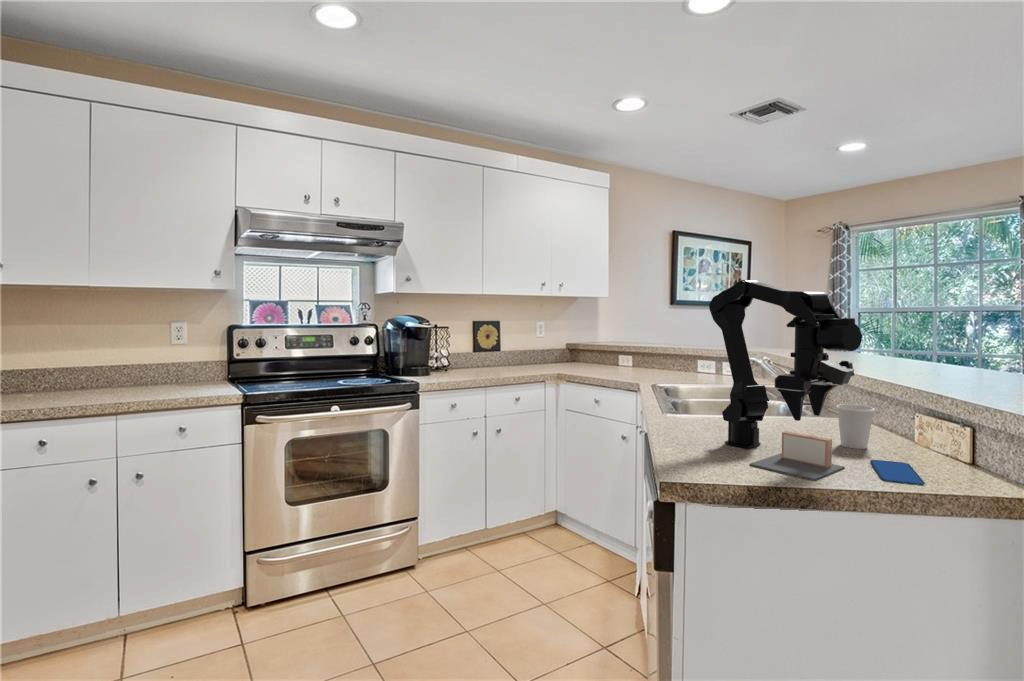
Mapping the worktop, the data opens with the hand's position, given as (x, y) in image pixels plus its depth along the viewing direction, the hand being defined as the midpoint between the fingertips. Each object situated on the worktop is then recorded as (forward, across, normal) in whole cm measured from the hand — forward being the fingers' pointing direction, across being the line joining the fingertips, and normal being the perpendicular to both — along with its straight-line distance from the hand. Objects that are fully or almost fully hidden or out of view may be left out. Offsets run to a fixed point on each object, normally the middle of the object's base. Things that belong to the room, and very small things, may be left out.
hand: (807, 417), depth 123 cm
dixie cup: (+11, +26, 0) cm, 28 cm away
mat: (+10, -4, 0) cm, 11 cm away
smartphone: (+11, +8, -15) cm, 20 cm away
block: (+10, 0, 0) cm, 10 cm away
